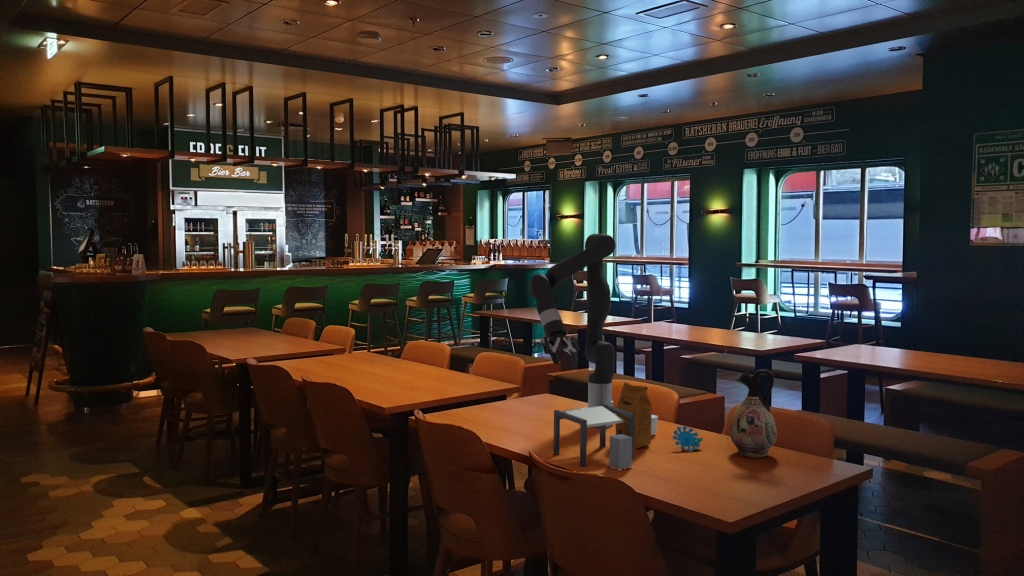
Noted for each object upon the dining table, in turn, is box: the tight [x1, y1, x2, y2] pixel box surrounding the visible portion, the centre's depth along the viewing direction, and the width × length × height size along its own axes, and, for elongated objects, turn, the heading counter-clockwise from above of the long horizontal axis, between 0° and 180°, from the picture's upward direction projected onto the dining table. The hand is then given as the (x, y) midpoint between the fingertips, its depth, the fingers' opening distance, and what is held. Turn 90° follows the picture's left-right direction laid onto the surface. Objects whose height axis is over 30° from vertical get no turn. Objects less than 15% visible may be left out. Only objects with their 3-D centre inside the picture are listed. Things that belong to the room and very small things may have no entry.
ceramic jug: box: [729, 368, 778, 458], centre depth 263 cm, size 17×15×30 cm
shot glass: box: [651, 413, 659, 436], centre depth 290 cm, size 7×7×7 cm
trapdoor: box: [562, 406, 623, 429], centre depth 260 cm, size 16×13×1 cm
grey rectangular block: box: [608, 434, 633, 470], centre depth 247 cm, size 5×5×10 cm
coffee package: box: [614, 381, 653, 450], centre depth 274 cm, size 10×12×22 cm
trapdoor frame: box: [552, 404, 635, 467], centre depth 260 cm, size 21×17×15 cm
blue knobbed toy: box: [672, 425, 704, 452], centre depth 271 cm, size 11×6×10 cm
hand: (566, 363), depth 271 cm, fingers open, 8 cm apart
